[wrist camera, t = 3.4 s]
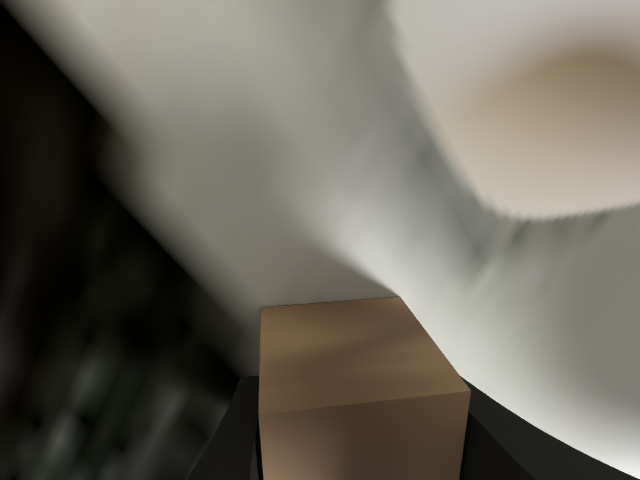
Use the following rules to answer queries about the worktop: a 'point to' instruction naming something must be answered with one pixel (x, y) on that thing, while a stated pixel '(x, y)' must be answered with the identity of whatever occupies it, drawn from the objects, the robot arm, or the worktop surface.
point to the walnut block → (357, 395)
